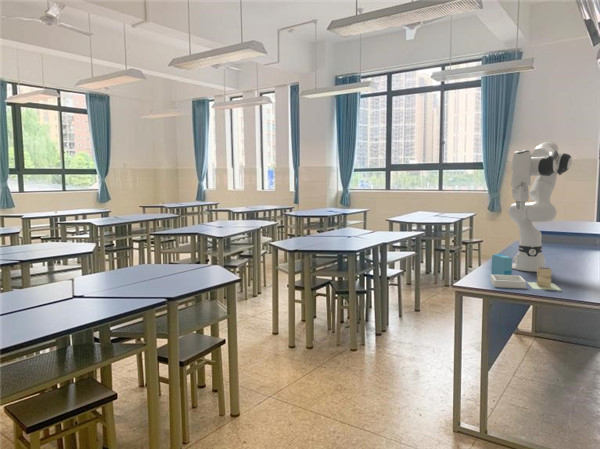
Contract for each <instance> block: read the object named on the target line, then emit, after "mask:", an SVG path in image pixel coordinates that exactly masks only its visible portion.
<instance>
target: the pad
mask: <svg viewBox="0 0 600 449" xmlns="http://www.w3.org/2000/svg"><path fill="white" fill-rule="evenodd" d="M526 284H528V285H529V286H530V287H531V289H533V290H545V291H546V290H548V291H549V290H550V291H557V292H559V293H560V292H561V293H562V292H563V290H562V289H561V288H560V287H559V286H558V285H556V284H555V283H554V282H553V283H552V282H551V287H539V286H538V285H537V281H536V282H533V281H529V282H528V281H526Z"/></svg>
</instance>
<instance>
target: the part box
mask: <svg viewBox="0 0 600 449" xmlns="http://www.w3.org/2000/svg"><path fill="white" fill-rule="evenodd" d="M536 283H537V285H538V286H539V287H551V283H552V269H551V268H550V267H549V266H545V267H537V272H536Z"/></svg>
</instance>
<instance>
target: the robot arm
mask: <svg viewBox="0 0 600 449" xmlns="http://www.w3.org/2000/svg"><path fill="white" fill-rule="evenodd" d="M511 162H512V163H511V170H512V171H511V172H512V173H511V182H510V186H511V187H512V199H513V200H514V201H515V203H511V205H510V206H509V208H508V210H507V211H508V216H509V218H510V219H511V220H512V221H513V222H514V223H515V224H516V226H517V228H518V231H519V245H518V252H517V254H515V256H513V259H512V261H514V262H512V269H513V270H518V271H523V272H536V273H537V267H546V259H545V255H544V254H543V253H542V252H543V246H542V238H543V237H542V236H543V235H542V232H541V230H540V229H539V228H537V227H535V226H534V224H533V223H546V222H547V223H549V222H553V220H554V219H555V218H556V216H557V208H556V207H555V205H554V204H552V203H551V200H550V199H551V196H552V193H553V191H554V189H555V187H556V183H557V176H558V175H559V176H561V175H563V174H564V173H566V172H567V171H569V169H570V167H571V166H572V162H573V160H572V156H571V154H569V153H562V152H559V147H558V145H557V144H556V143H555V142H554V141H545V142H541V143H540V144H537V146H535V147H534V148H533V150H532V152H531V150H529V149H523V150H516V151H513V155H512V161H511ZM534 176H536V178H535V179H534V181H533V183H532V177H534ZM531 185H532V186H531ZM530 186H531V187H530ZM529 187H530V189H529ZM529 198H530V199H531V200H532V201H533V202H528V201H529Z"/></svg>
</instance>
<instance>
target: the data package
mask: <svg viewBox="0 0 600 449" xmlns="http://www.w3.org/2000/svg"><path fill="white" fill-rule="evenodd" d="M512 263H513V259H512V257H511V256H508V255H505V254H498V253H497V254H492V256H491V274H493V275H513V274H512V272H513V270H512Z"/></svg>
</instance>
